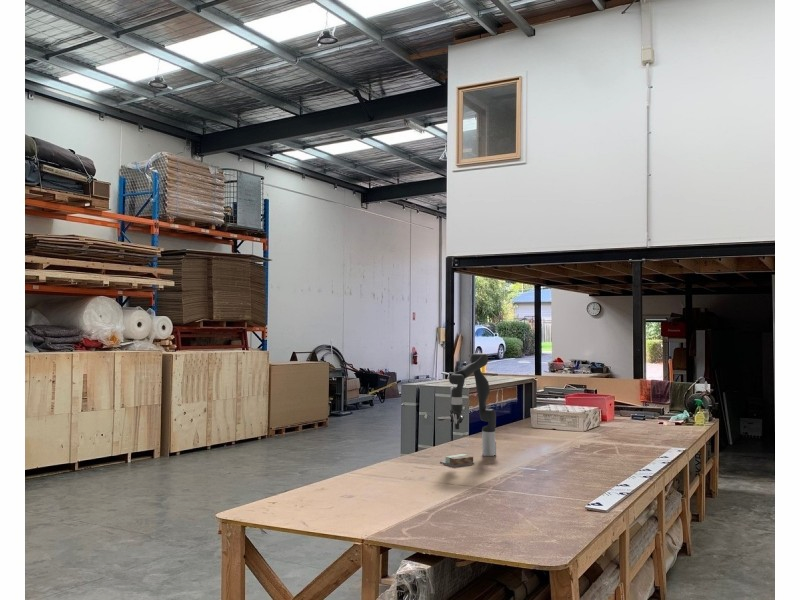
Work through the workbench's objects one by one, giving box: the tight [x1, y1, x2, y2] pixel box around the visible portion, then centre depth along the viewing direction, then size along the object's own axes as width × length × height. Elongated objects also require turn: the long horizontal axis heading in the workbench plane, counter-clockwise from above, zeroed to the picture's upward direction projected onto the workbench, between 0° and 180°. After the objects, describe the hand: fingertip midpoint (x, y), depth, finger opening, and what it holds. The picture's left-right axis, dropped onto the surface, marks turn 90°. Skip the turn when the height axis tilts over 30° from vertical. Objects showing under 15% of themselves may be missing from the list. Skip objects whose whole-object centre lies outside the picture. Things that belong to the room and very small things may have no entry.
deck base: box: [439, 460, 475, 468], centre depth 444 cm, size 18×15×1 cm
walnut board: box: [450, 454, 474, 465], centre depth 440 cm, size 16×5×4 cm, turn 121°
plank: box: [445, 453, 469, 464], centre depth 445 cm, size 16×5×4 cm, turn 127°
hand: (457, 429), depth 445 cm, fingers closed
